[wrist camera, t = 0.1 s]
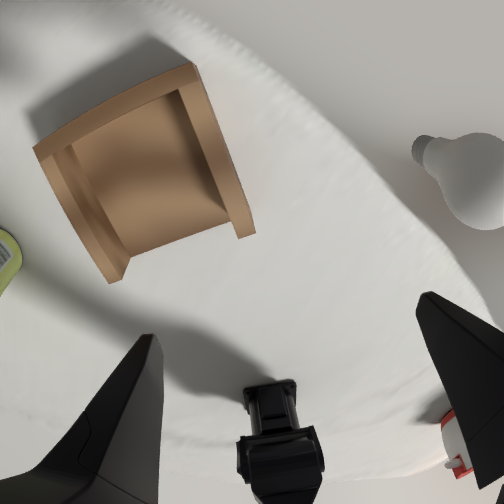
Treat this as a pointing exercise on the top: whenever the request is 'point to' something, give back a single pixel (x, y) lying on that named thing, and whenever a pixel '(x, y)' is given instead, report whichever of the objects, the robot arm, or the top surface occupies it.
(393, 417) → the top surface
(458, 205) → the lightbulb
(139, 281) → the top surface
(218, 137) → the u rest
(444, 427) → the citrus juicer
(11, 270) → the tube
